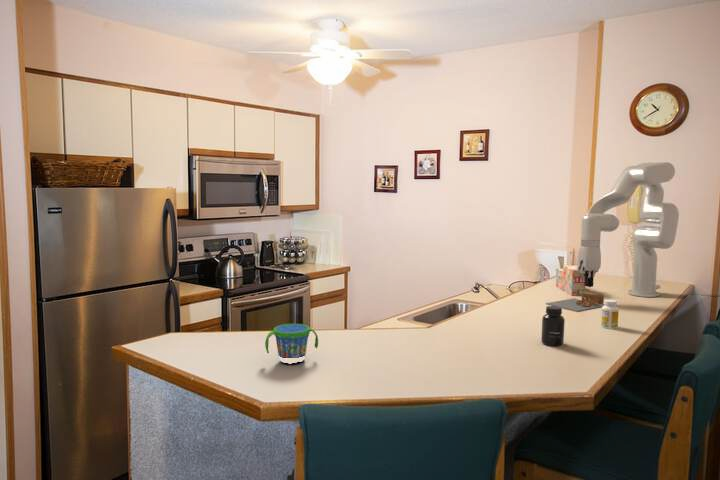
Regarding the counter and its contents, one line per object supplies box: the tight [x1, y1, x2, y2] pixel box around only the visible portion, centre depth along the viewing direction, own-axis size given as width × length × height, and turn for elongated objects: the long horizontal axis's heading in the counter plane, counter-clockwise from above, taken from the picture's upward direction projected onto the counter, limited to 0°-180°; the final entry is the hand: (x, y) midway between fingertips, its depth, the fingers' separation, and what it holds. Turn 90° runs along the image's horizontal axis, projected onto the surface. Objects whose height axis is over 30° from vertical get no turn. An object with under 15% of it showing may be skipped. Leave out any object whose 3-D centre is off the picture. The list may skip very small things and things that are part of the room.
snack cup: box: [264, 323, 319, 358], centre depth 158 cm, size 16×10×10 cm
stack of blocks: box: [555, 265, 586, 297], centre depth 255 cm, size 21×6×12 cm, turn 179°
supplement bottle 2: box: [600, 299, 620, 330], centre depth 192 cm, size 5×5×10 cm
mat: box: [545, 298, 605, 313], centre depth 227 cm, size 18×16×1 cm
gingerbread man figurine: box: [576, 291, 605, 307], centre depth 226 cm, size 9×4×12 cm
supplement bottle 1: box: [540, 305, 565, 347], centre depth 173 cm, size 7×7×12 cm
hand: (588, 286), depth 230 cm, fingers closed
